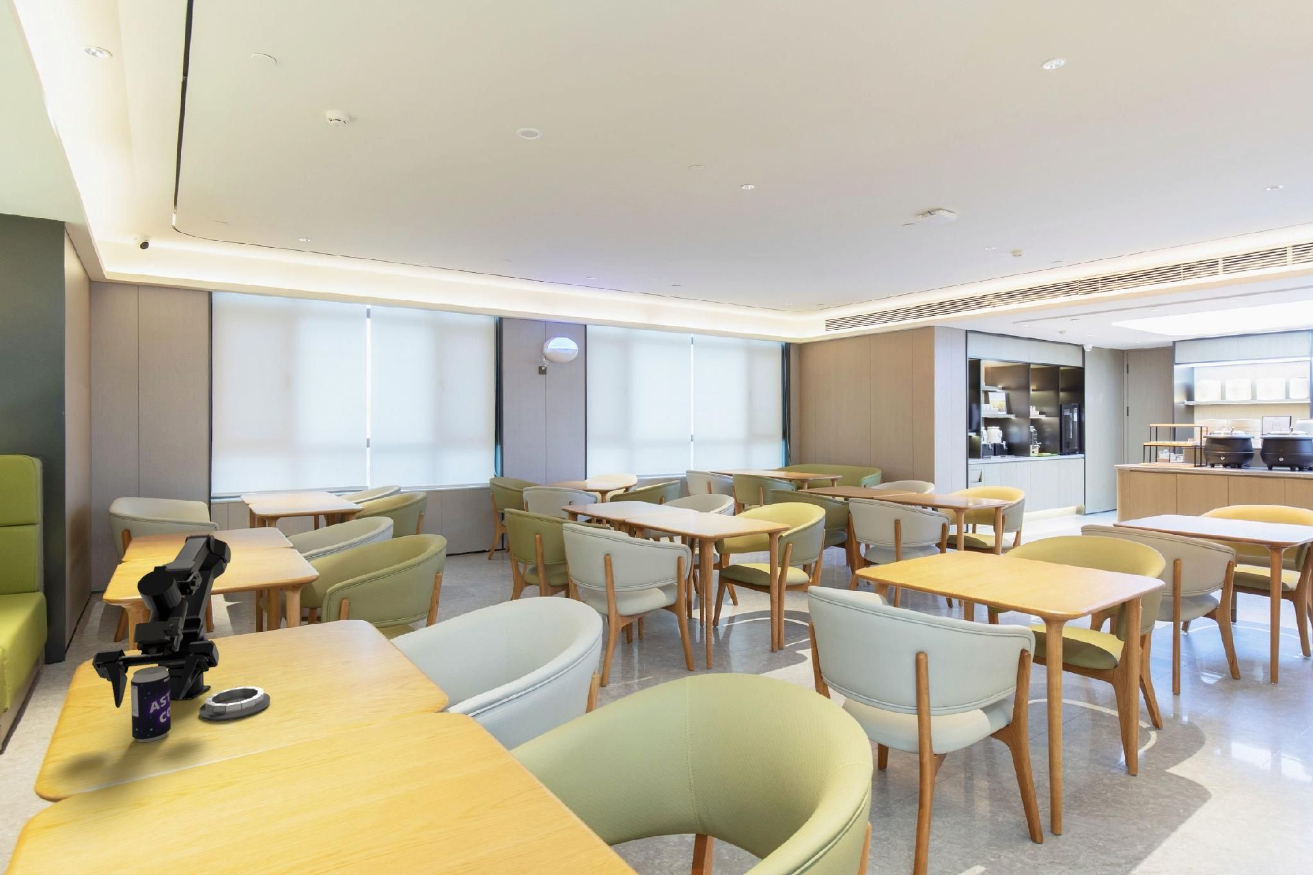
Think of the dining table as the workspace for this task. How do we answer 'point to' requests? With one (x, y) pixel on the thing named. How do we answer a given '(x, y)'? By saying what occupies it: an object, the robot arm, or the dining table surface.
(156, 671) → the beverage can
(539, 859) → the dining table surface
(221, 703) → the collar base
